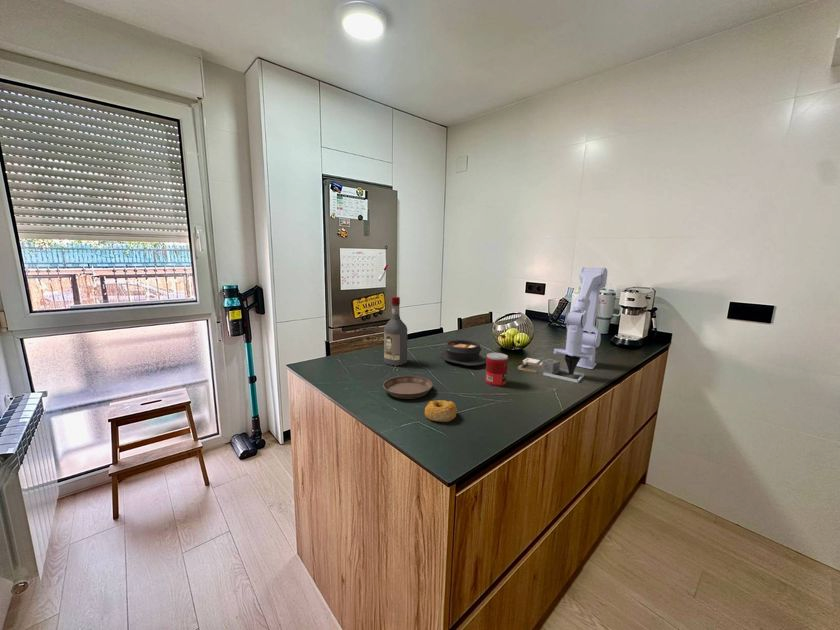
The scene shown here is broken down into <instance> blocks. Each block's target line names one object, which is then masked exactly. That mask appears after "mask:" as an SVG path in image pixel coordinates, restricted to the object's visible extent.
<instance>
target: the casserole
mask: <svg viewBox="0 0 840 630" xmlns="http://www.w3.org/2000/svg"><path fill="white" fill-rule="evenodd" d="M481 351H482V348H481V346H480V344H479V343H478V342H476V341H473V340H465V339H457V340H450V341H447V342H446V344H445V346H444V351H441V352H439V354H440V355H441V357H442V359H444V360H445V361H447V362H449V363H453V364H456V365H463V366H467V367H475V366H476V367H477V366H481V365H484V364H485V365H486V359H485V358H484V357H483V356H482V355H480V352H481Z"/></svg>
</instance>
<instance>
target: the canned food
mask: <svg viewBox="0 0 840 630" xmlns="http://www.w3.org/2000/svg"><path fill="white" fill-rule="evenodd" d="M485 360H486V363H485V383H486V384H487V385H490V386H492V387H503V386H506V385H507V380H508V367H509V366H508V365H509V355H507V354H505V353H501V352H490V353H489V352H488V353H486V359H485Z"/></svg>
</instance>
